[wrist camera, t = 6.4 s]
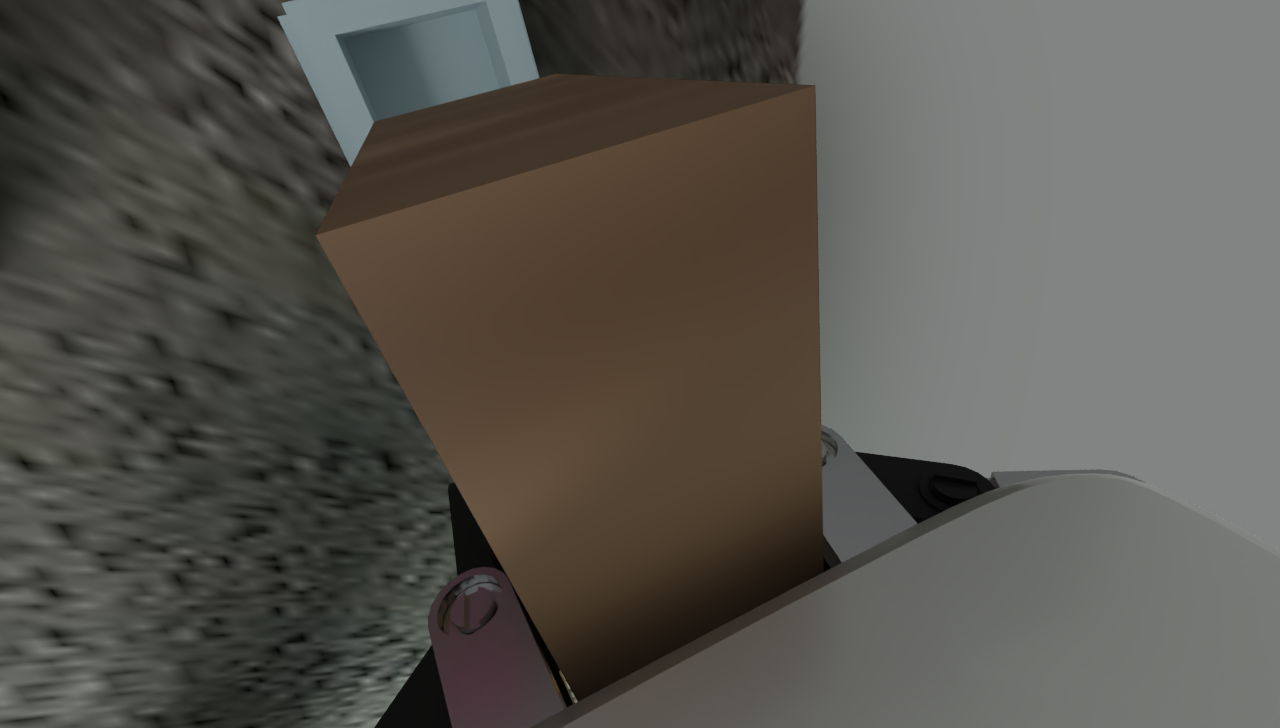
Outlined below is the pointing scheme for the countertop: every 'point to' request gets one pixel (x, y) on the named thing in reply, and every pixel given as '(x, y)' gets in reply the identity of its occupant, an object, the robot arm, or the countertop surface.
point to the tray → (403, 56)
